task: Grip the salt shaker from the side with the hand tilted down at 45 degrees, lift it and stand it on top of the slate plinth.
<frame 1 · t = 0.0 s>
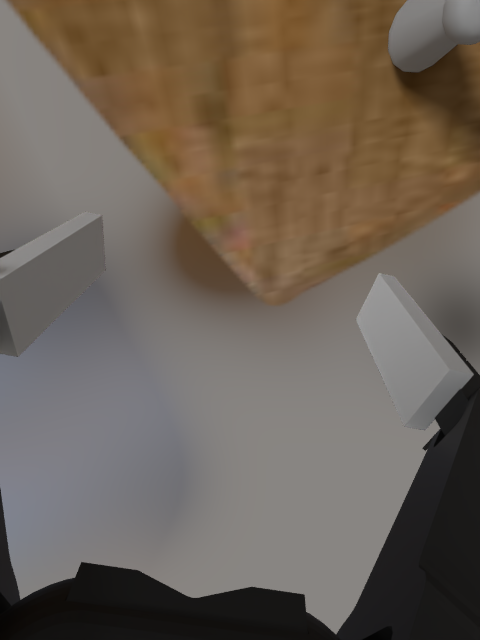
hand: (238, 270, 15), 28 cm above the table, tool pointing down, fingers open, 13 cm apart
salt shaker: (410, 38, 30), on the table
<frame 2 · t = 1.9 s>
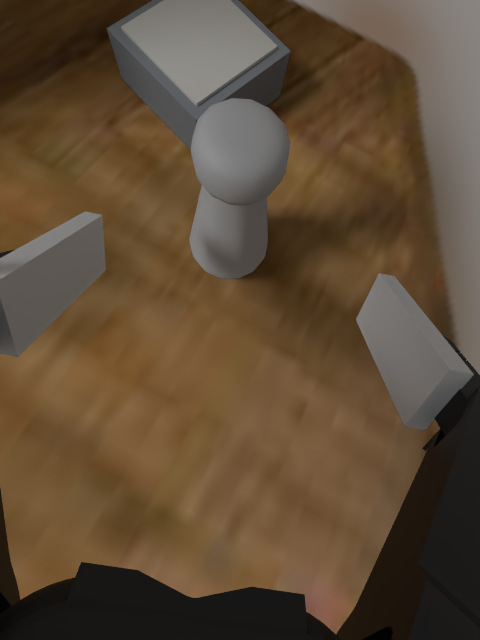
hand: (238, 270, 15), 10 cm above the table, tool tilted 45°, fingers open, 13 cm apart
salt shaker: (227, 254, 25), on the table
slate plinth: (202, 87, 27), on the table
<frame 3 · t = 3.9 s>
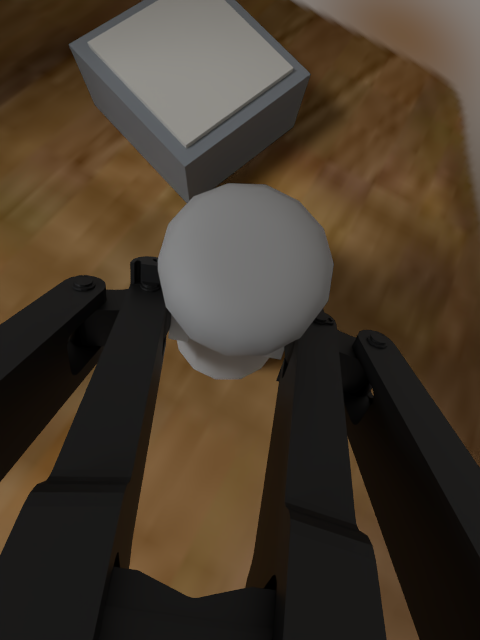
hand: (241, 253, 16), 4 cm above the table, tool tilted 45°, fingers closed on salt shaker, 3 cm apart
salt shaker: (225, 333, 19), on the table, touching gripper
slate plinth: (196, 116, 22), on the table
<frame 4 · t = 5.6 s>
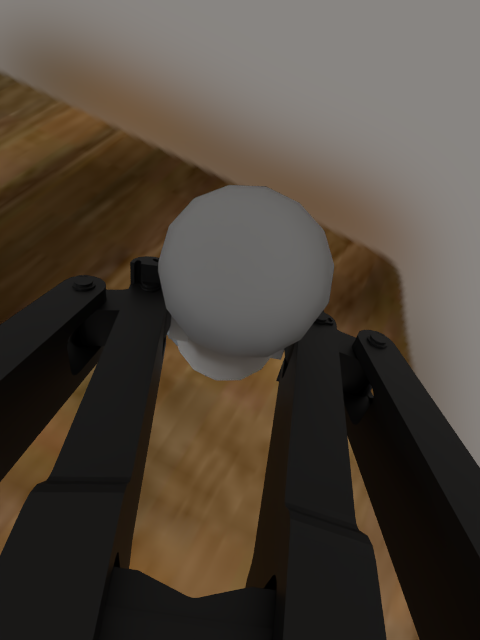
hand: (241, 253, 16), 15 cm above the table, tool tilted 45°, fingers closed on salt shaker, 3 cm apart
salt shaker: (225, 334, 19), point 11 cm above the table, touching gripper
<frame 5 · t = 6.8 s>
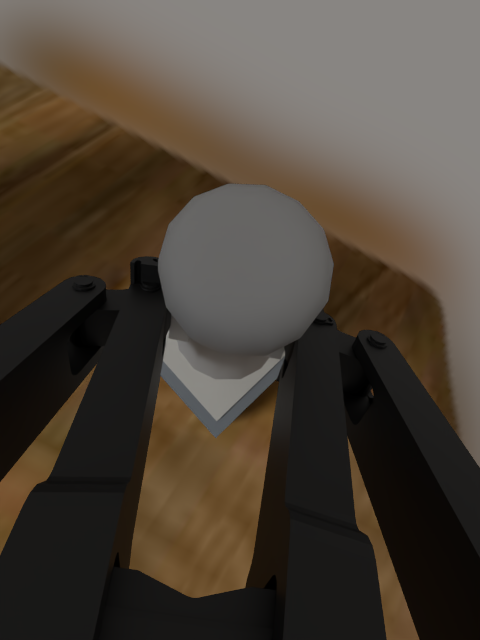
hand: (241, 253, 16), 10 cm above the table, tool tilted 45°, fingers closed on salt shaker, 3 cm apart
salt shaker: (225, 333, 20), point 7 cm above the table, touching gripper
slate plinth: (219, 340, 26), on the table
when the fingers open (9 cm above the table, at t = 7.3 s): salt shaker stays where it is, resting on slate plinth.
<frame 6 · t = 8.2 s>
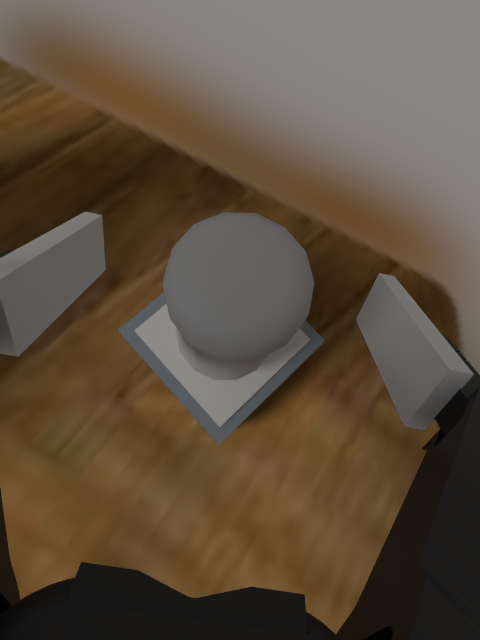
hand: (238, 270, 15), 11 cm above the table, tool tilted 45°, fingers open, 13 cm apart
salt shaker: (223, 336, 21), point 4 cm above the table, touching slate plinth
slate plinth: (222, 341, 25), on the table
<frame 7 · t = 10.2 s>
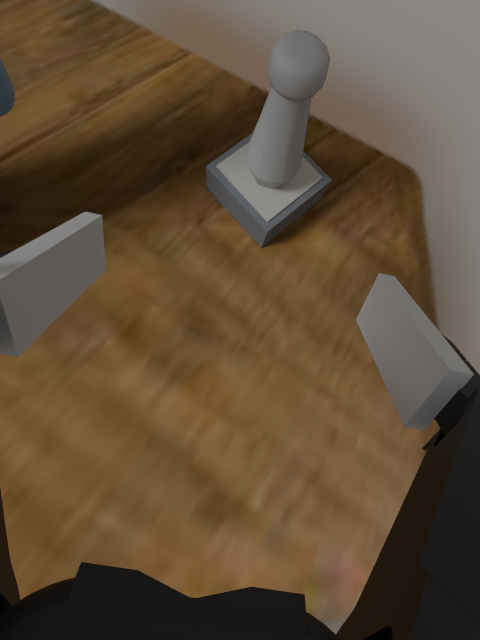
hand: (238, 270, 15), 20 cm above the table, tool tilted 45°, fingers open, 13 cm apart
salt shaker: (269, 173, 34), point 4 cm above the table, touching slate plinth
slate plinth: (264, 194, 38), on the table
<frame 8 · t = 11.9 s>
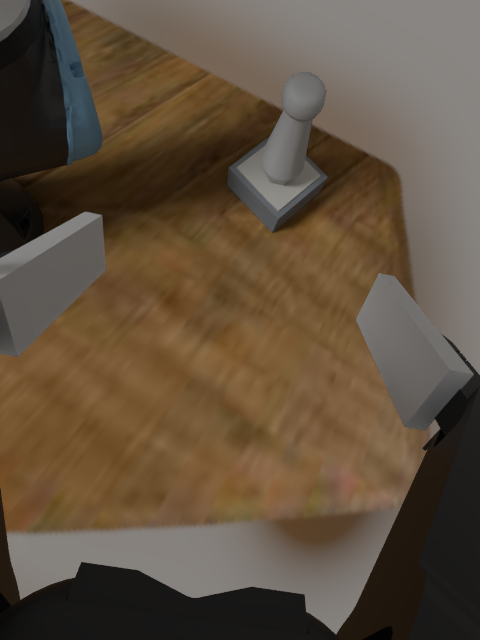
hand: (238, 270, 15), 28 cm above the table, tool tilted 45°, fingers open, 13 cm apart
salt shaker: (278, 172, 42), point 4 cm above the table, touching slate plinth
slate plinth: (273, 189, 46), on the table
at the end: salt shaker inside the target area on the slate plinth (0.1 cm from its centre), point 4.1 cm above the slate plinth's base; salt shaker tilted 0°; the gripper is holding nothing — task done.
